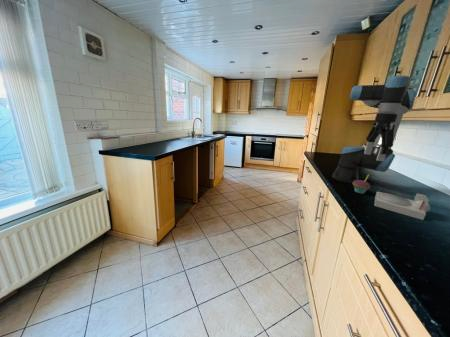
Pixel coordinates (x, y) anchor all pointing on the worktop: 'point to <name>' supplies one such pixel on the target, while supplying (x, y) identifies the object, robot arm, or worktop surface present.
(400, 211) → the scale
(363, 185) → the cupcake
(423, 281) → the worktop surface
